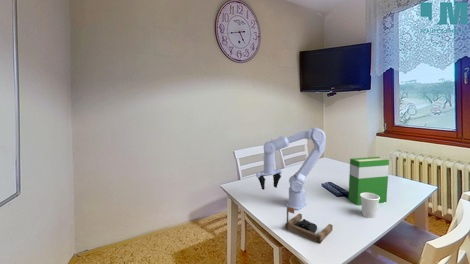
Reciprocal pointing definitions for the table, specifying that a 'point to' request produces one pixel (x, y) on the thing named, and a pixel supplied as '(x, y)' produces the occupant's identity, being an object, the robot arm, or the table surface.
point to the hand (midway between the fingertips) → (269, 188)
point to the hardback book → (368, 178)
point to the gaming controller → (307, 225)
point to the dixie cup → (369, 204)
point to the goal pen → (305, 233)
